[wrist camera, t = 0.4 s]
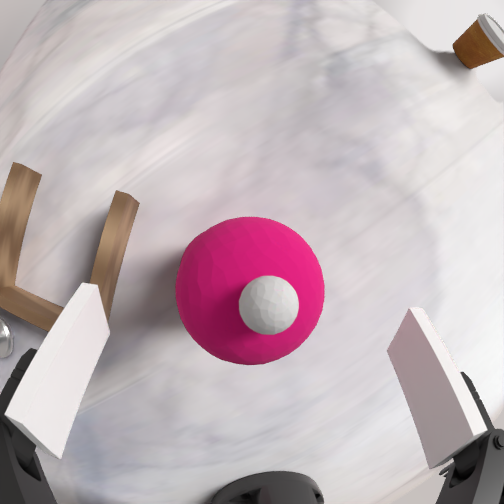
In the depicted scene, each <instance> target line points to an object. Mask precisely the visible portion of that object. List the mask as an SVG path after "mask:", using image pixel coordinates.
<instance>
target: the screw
mask: <svg viewBox="0 0 504 504" xmlns="http://www.w3.org/2000/svg"><path fill="white" fill-rule="evenodd" d="M13 338H14V334H13V332H12V329H11V326H10V324H7V323H6V322H5V321H4V320H3V319H2V318H1V317H0V358H5V357H7V356H9V355H10V354H11V352H12V349H13Z"/></svg>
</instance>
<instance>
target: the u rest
mask: <svg viewBox="0 0 504 504" xmlns="http://www.w3.org/2000/svg"><path fill="white" fill-rule="evenodd" d="M41 176H42V175H41V174H39V173H37V172H35V171H33V170H32V169H30V168H28V167H26V166H24V165H22V164H19V163H15V162H13V164H12V167H11V170H10V173H9V176H8V179H7V182H6V185H5V188H4V191H3V194H2V198H1V201H0V307H1V308H3V309H4V310H6V311H8V312H10V313H12V314H14V315H16V316H17V317H19V318H21V319H23V320H25V321H27V322H29V323H31V324H33V325H35V326H37V327H39V328H41V329H44V330H46V331H48V332H49V331H50V330H51V328H52V327H53V325H54V324H55V322H56V320H57V319H58V317H59V316H60V314H61V313H62V311H63V310H64V308H63V307H61V306H58V305H56V304H54V303H51V302H49V301H47V300H45V299H42V298H40V297H38V296H36V295H34V294H31V293H29V292H27V291H25V290H23V289H21V288H19V287H17V286H15V279H16V272H17V267H18V261H19V256H20V251H21V246H22V242H23V238H24V233H25V229H26V225H27V222H28V218H29V214H30V211H31V207H32V204H33V200H34V197H35V194H36V191H37V188H38V185H39V182H40V179H41ZM139 204H140V203H139V202H138V201H137V200H135V199H134V198H133V197H132V196H131V195H129V194H127V193H124V192H120V191H117V190H116V192H115V195H114V197H113V200H112V203H111V207H110V210H109V213H108V216H107V219H106V222H105V226H104V229H103V233H102V236H101V240H100V243H99V247H98V251H97V254H96V258H95V262H94V266H93V271H92V275H91V279H90V284H95V285H98V289H99V293H100V297H101V301H102V305H103V309H104V312H105V316H106V320H107V323H108V320H109V316H110V311H111V306H112V301H113V297H114V293H115V288H116V284H117V280H118V276H119V272H120V268H121V264H122V260H123V257H124V253H125V249H126V246H127V242H128V239H129V236H130V232H131V229H132V226H133V222H134V219H135V216H136V213H137V210H138V207H139Z"/></svg>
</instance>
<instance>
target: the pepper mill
mask: <svg viewBox="0 0 504 504" xmlns="http://www.w3.org/2000/svg"><path fill="white" fill-rule="evenodd" d="M176 301H177V306H178V310H179V314H180V318H181V320H182V322H183V324H184V326H185V328H186V330H187V331H188V333H189V334H190V335H191V337H192V338H193V339H194V340H195V341H196V342H197V343H198V344H199V345H200V346H201V347H202V348H203V349H205V350H206V351H207V352H209V353H210V354H211V355H213V356H215V357H217V358H219V359H221V360H224V361H228V362H232V363H236V364H243V365H258V364H265V363H268V362H272V361H275V360H278V359H280V358H282V357H284V356H286V355H288V354H290V353H291V352H292V351H294V350H295V349H297V348H298V347H299V346H300V345H301V344H302V343H303V342H304V341H305V340H306V339H307V338H308V337H309V335H310V334H311V332H312V331H313V329H314V328H315V326H316V325H317V322H318V320H319V317H320V315H321V312H322V308H323V303H324V280H323V275H322V270H321V267H320V265H319V262H318V260H317V258H316V256H315V254H314V253H313V251H312V249H311V248H310V246H309V245H308V244H307V243H306V242H305V240H304V239H303V238H302V237H301V236H300V235H299V234H297V233H296V232H295V231H293V230H292V229H290V228H289V227H287V226H285V225H283V224H281V223H279V222H276V221H274V220H271V219H266V218H260V217H239V218H234V219H229V220H226V221H223V222H221V223H219V224H217V225H215V226H213V227H211V228H209V229H208V230H207V231H205V232H203V233H201V234H200V235H198V236H197V237H195V238H194V240H193V241H192V242H191V243H190V244H189V245H188V247H187V248H186V250H185V252H184V254H183V256H182V260H181V264H180V267H179V270H178V273H177V279H176Z"/></svg>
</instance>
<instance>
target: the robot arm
mask: <svg viewBox="0 0 504 504" xmlns="http://www.w3.org/2000/svg"><path fill="white" fill-rule="evenodd" d="M109 335H110V330H109V327H108V323H107V320H106V316H105V312H104V309H103V305H102V301H101V297H100V293H99V289H98V285H95V284H88V283H82V284H81V285H80V287H79V288H78V289H77V291H76V292H75V294H74V295H73V297H72V298H71V299H70V301H69V302H68V304H67V305H66V307H65V308H64V310H63V311H62V313H61V314H60V316H59V317H58V319H57V320H56V322H55V324H54V325H53V327H52V328H51V330H50V331H49V333H48V335H47V336H46V338H45V340H44V341H43V343H42V345H41V346H40V348H39V350H36V349H32V348H31V349H29V350H28V351H27V352H26V353H25V354H24V355H23V356H21V358H20V360H19V362H18V363H17V365H16V367H15V369H14V370H13V372H12V374H11V378H9V379H8V381H7V383H6V385H5V387H4V389H3V390H2V392H1V394H0V504H57V502H56V500H55V498H54V496H53V494H52V491H51V489H50V487H49V484H48V482H47V480H46V477H45V475H44V472H43V470H42V467H41V464H40V462H39V459H38V456H37V454H36V452H35V448H36V446H37V447H38V448H39V449H40V450H42V451H43V452H44V453H46V454H49V455H51V456H53V457H55V458H58V459H60V460H61V457H62V454H63V451H64V448H65V445H66V442H67V439H68V436H69V433H70V430H71V427H72V424H73V422H74V419H75V416H76V413H77V411H78V408H79V405H80V403H81V400H82V398H83V395H84V393H85V390H86V388H87V385H88V383H89V380H90V378H91V375H92V373H93V371H94V368H95V366H96V364H97V361H98V359H99V357H100V355H101V352H102V350H103V348H104V346H105V343H106V341H107V339H108V337H109ZM387 352H388V355H389V357H390V360H391V362H392V364H393V367H394V369H395V372H396V374H397V377H398V379H399V382H400V384H401V387H402V390H403V392H404V395H405V398H406V400H407V403H408V406H409V408H410V411H411V414H412V417H413V420H414V422H415V425H416V428H417V431H418V434H419V437H420V440H421V443H422V446H423V450H424V453H425V456H426V459H427V463H428V466H429V469H432V468H435V467H438V466H440V465H443V464H445V463H446V462H448V461H449V460H450V459H452V458H453V459H454V462H453V463H451V464H450V465H448V466H447V467H445V468H444V469H443V470H441V472H440V473H439V475H442V474H444V473H445V472H447V471H448V470H449V471H448V473H447V474H445V475H444V477H446V479H445V482H444V484H443V487H442V490H441V492H440V495H439V497H438V499H437V502H436V504H504V431H503V430H502V429H495V428H494V426H493V425H492V422H491V420H490V418H489V416H488V413H487V411H486V409H485V407H484V405H483V403H482V401H481V399H479V398H480V397H479V395H478V393H477V392H476V389H475V387H474V385H473V383H472V381H471V379H470V378H469V377H468V376H467V375H466V374H465V373H464V372H460V371H459V369H458V368H457V366H456V364H455V362H454V360H453V358H452V357H451V355H450V353H449V351H448V350H447V348H446V346H445V344H444V343H443V341H442V339H441V337H440V336H439V334H438V332H437V331H436V329H435V327H434V326H433V324H432V322H431V321H430V319H429V318H428V316H427V314H426V313H425V311H424V310H423V308H409V309H408V311H407V314H406V316H405V318H404V319H403V321H402V323H401V325H400V327H399V329H398V331H397V333H396V335H395V337H394V339H393V340H392V342H391V344H390V346H389V348H388V349H387ZM211 504H324V498H323V495H322V493H321V491H320V489H319V487H318V486H317V484H316V483H315V481H314V480H313V479H311V478H310V477H308V476H306V475H303V474H300V473H296V472H287V471H276V472H266V473H261V474H256V475H252V476H249V477H245V478H243V479H240V480H238V481H235V482H233V483H231V484H230V485H228V486H226V487H225V488H223V489H222V490H221V491H220V492H218V493H217V495H216V496H215V497H214V498H213V500H212V502H211Z"/></svg>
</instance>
